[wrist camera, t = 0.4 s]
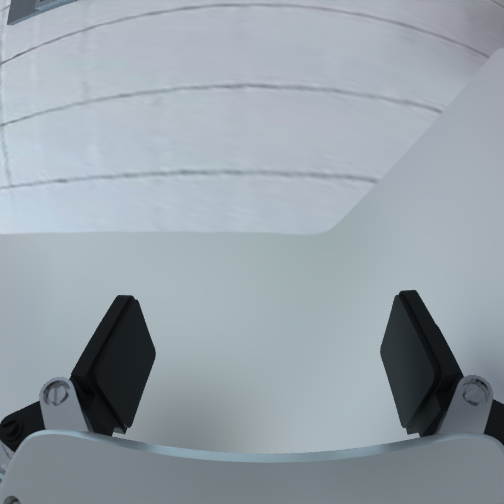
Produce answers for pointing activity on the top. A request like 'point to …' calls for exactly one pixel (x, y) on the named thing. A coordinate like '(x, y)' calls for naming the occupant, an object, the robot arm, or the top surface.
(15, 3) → the grey slotted base
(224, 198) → the top surface
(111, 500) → the robot arm
